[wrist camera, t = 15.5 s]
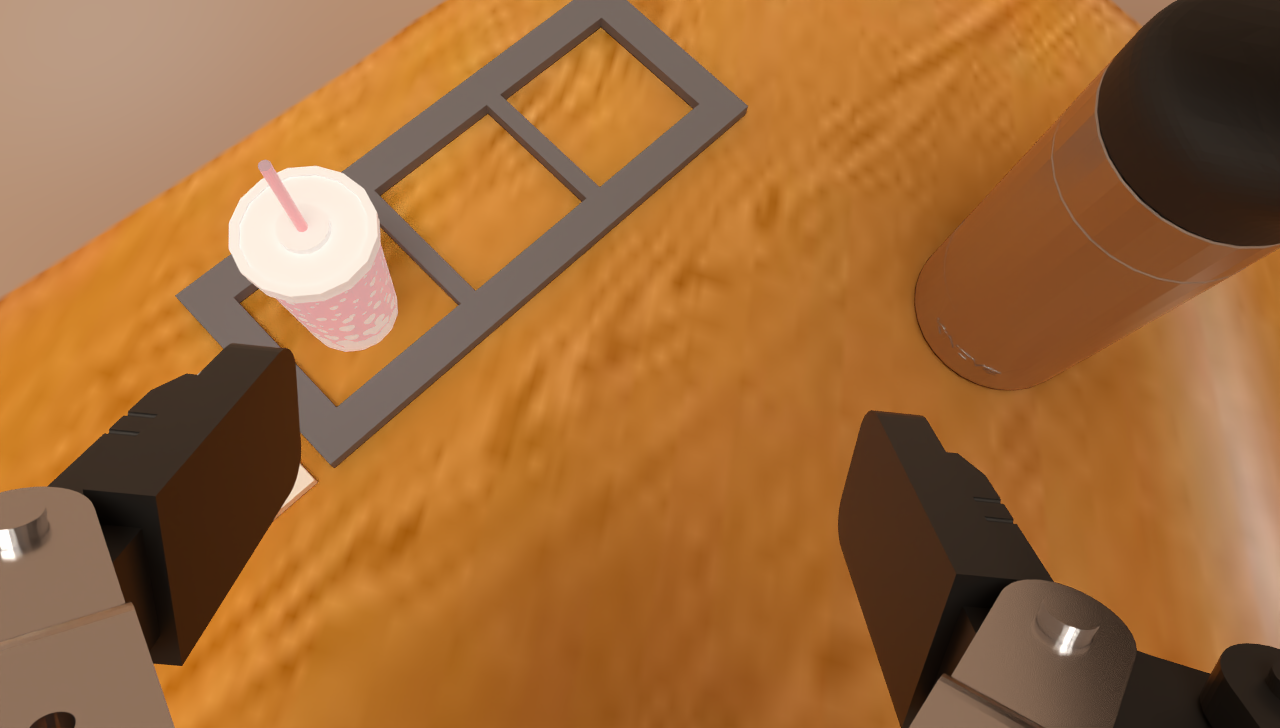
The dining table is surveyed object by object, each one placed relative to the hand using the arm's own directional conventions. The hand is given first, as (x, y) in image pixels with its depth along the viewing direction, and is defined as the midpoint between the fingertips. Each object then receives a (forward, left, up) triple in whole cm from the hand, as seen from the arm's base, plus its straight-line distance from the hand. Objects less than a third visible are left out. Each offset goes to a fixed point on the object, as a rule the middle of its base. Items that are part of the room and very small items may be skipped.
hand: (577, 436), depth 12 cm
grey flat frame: (-11, -18, -31) cm, 37 cm away
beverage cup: (-2, -18, -31) cm, 36 cm away
